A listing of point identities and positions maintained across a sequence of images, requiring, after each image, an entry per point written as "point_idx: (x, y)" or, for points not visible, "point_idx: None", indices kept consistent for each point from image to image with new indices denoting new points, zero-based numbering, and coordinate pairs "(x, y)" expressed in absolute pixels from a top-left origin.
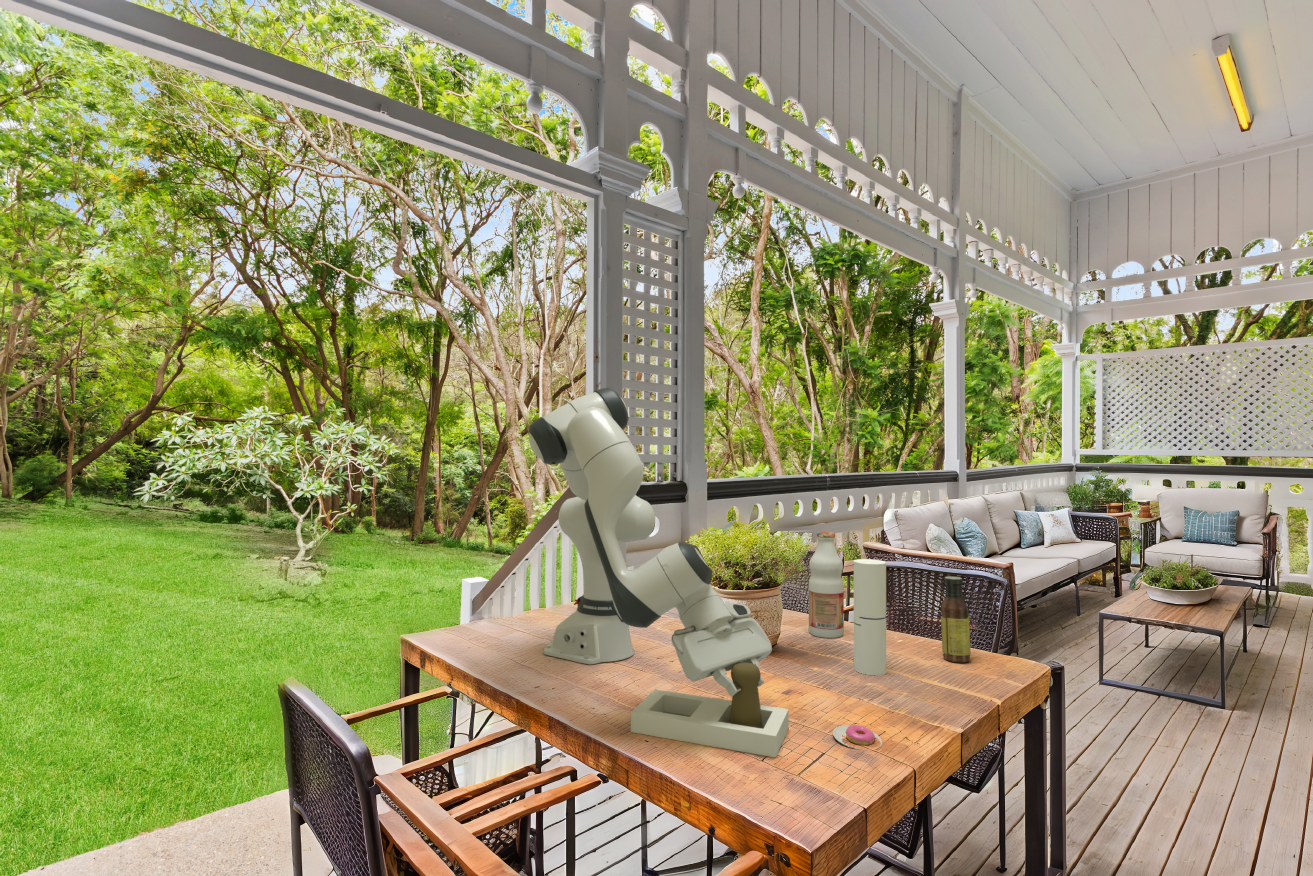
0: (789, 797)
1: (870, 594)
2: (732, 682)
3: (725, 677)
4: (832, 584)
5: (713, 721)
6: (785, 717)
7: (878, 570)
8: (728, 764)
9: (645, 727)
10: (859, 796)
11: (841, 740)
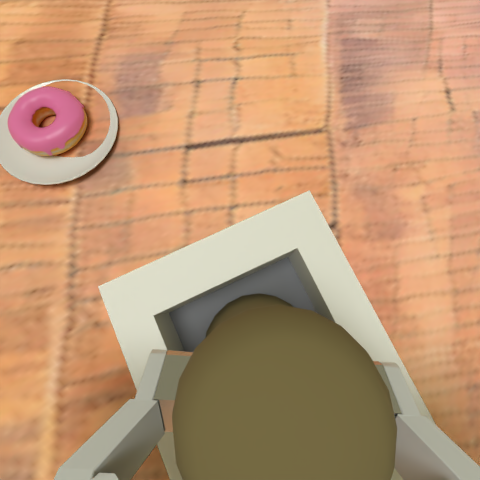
0: (414, 91)
1: None
2: (404, 412)
3: (471, 463)
4: None
5: None
6: (157, 261)
7: None
8: (418, 269)
9: None
10: (301, 11)
11: (92, 153)
